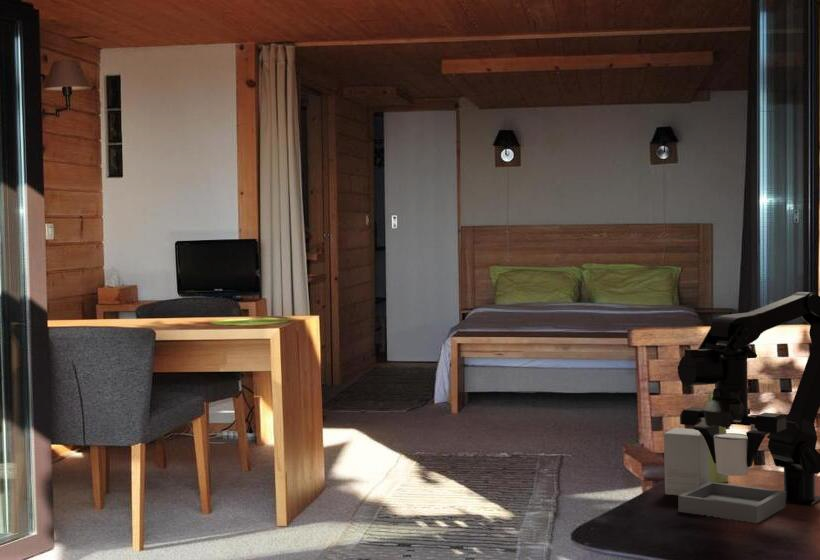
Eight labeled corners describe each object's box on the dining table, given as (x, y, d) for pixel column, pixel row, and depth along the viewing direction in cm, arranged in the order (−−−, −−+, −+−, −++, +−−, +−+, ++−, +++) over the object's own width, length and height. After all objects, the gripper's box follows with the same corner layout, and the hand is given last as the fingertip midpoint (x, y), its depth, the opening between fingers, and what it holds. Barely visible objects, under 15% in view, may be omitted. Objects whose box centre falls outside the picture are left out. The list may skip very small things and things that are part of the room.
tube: (699, 478, 228) (698, 388, 227) (722, 477, 228) (721, 387, 228) (709, 484, 222) (708, 391, 222) (732, 483, 223) (732, 390, 222)
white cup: (753, 476, 196) (753, 439, 196) (715, 476, 198) (714, 438, 197) (749, 469, 203) (749, 432, 203) (712, 468, 204) (712, 432, 204)
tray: (709, 496, 211) (709, 481, 211) (785, 506, 202) (785, 491, 202) (678, 511, 199) (678, 495, 199) (757, 523, 190) (757, 506, 190)
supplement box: (710, 491, 216) (710, 429, 215) (699, 498, 210) (699, 435, 209) (675, 487, 220) (674, 426, 219) (663, 494, 213) (662, 432, 213)
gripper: (667, 384, 199) (668, 466, 200) (765, 390, 188) (766, 478, 188) (691, 378, 208) (692, 456, 208) (786, 383, 196) (787, 467, 197)
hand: (732, 464), depth 200 cm, fingers closed on white cup, 6 cm apart
